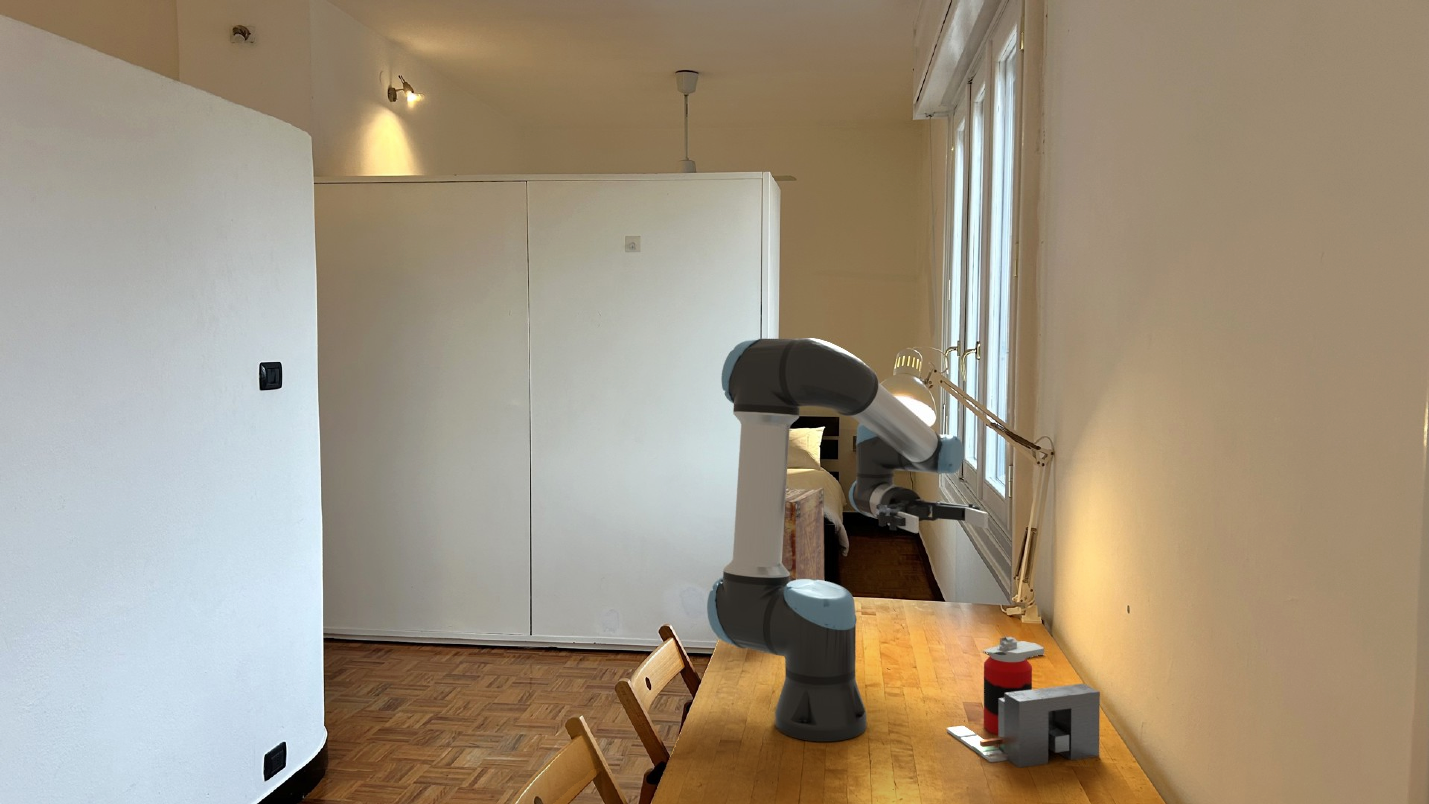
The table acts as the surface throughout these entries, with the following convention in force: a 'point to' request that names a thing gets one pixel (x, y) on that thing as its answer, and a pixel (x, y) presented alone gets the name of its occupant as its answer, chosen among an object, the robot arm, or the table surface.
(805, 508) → the book
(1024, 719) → the gauge bed
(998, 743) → the grey block
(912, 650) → the table surface
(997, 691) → the soda can
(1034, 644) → the grey flat angular piece
